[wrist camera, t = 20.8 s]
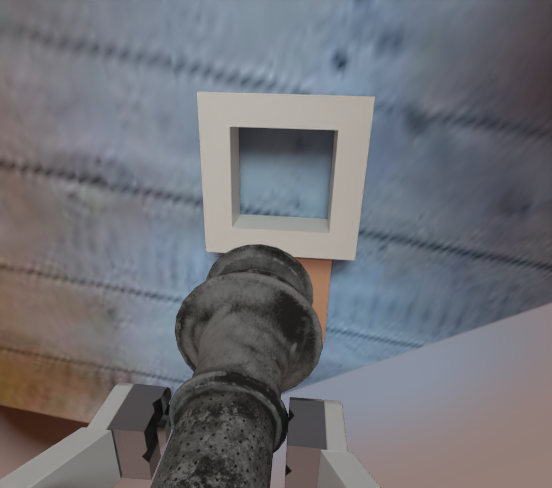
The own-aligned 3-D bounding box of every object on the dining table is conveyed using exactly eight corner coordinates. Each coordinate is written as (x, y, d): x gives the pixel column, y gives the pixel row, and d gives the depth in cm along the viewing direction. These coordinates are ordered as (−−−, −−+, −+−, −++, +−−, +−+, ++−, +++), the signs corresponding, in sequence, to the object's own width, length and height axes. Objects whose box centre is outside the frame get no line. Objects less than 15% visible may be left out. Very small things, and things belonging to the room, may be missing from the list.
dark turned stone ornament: (187, 322, 18) (2, 669, 7) (217, 220, 16) (14, 494, 5) (295, 357, 18) (278, 743, 7) (338, 262, 16) (409, 611, 5)
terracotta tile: (331, 257, 32) (331, 260, 31) (323, 339, 35) (324, 343, 35) (233, 252, 33) (231, 254, 32) (235, 332, 36) (233, 336, 35)
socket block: (366, 96, 27) (375, 96, 23) (350, 243, 31) (354, 260, 28) (210, 92, 27) (197, 91, 24) (216, 236, 32) (206, 251, 29)
